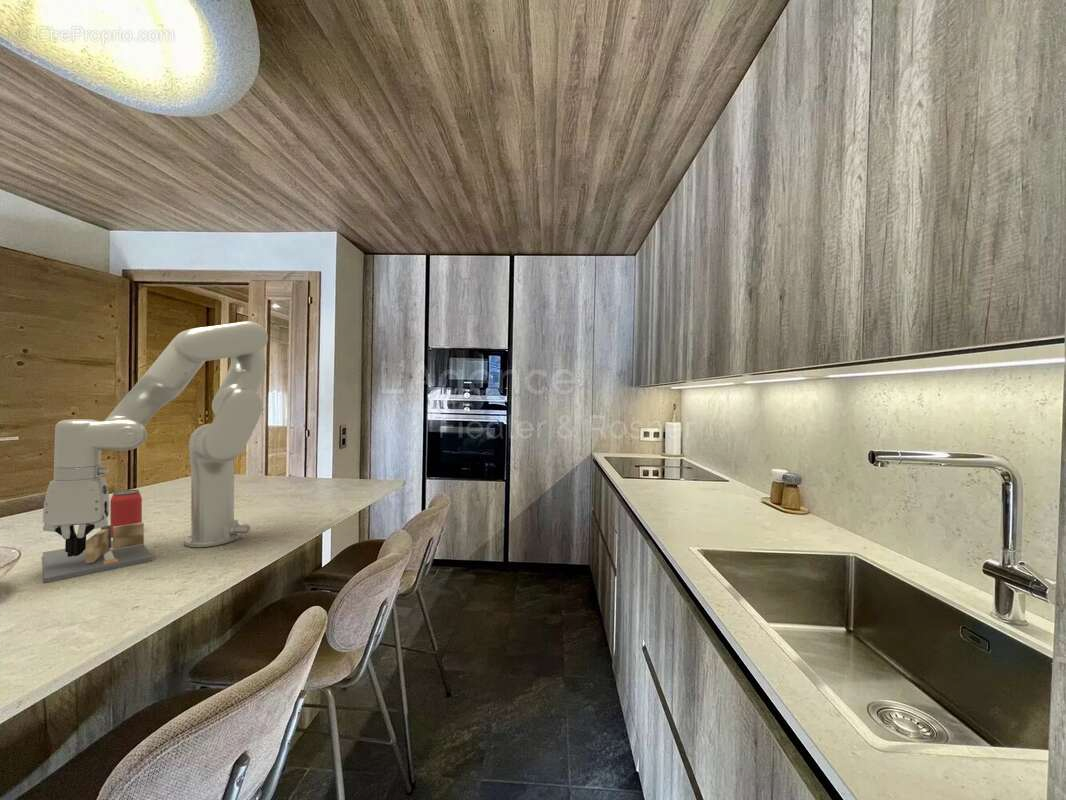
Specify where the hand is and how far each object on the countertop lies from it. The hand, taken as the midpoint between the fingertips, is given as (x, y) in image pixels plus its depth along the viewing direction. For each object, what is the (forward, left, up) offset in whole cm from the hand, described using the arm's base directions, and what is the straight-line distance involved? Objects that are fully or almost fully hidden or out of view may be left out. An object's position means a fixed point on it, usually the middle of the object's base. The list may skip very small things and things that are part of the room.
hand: (75, 554), depth 103 cm
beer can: (+5, -26, -3) cm, 26 cm away
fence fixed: (-4, -11, -2) cm, 12 cm away
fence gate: (-2, -4, -2) cm, 5 cm away
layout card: (0, -6, -3) cm, 7 cm away
